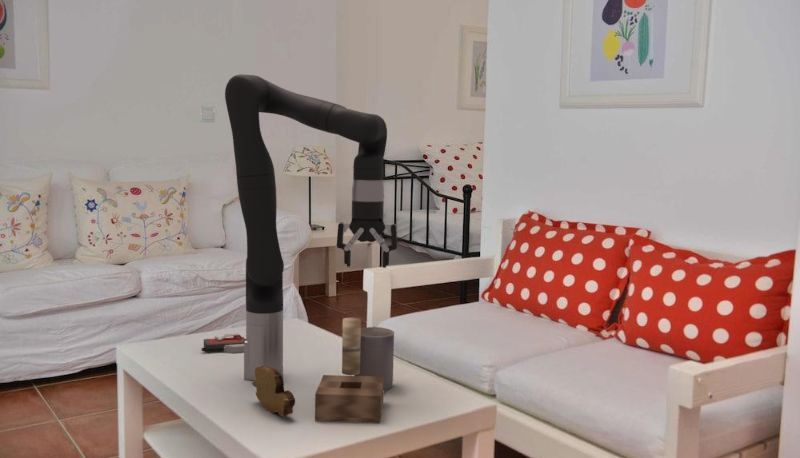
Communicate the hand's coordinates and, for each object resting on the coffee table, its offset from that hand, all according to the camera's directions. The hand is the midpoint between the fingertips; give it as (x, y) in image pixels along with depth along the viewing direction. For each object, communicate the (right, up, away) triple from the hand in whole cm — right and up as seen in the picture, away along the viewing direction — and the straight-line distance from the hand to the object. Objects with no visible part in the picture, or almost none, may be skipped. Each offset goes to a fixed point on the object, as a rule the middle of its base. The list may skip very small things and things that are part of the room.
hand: (366, 266), depth 193 cm
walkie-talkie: (-39, -26, +38) cm, 60 cm away
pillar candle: (+1, -30, +6) cm, 31 cm away
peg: (-3, -23, -14) cm, 27 cm away
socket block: (-3, -32, -13) cm, 34 cm away
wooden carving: (-20, -32, -13) cm, 40 cm away
